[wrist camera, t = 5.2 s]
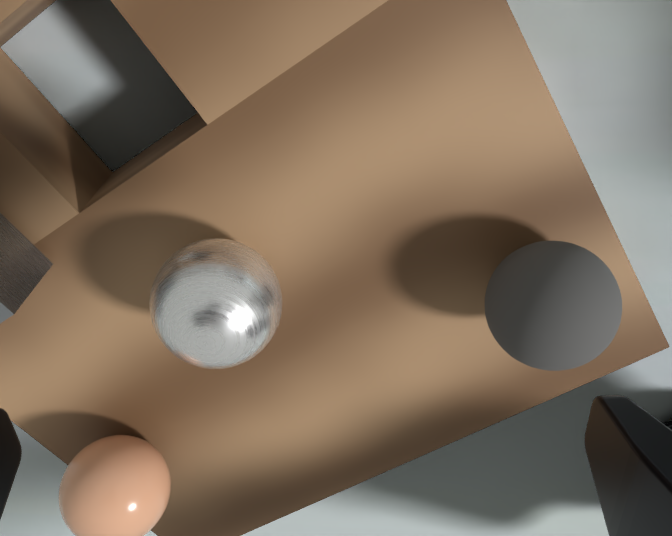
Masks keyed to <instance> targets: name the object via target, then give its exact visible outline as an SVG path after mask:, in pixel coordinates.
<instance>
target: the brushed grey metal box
mask: <svg viewBox="0 0 672 536" xmlns="http://www.w3.org/2000/svg"><path fill="white" fill-rule="evenodd" d="M52 265H53V263H52V262H51V261H50V260H49V259H48V258H47V257H46V256H45V255H44V254H43V253H42V252H41V251H40V250H39V249H38V248H36V247H35V246H34V245H33V244H32V243H31V242H30V241H29V240H28V239H27V238H26V237H25V236H24V235H23V234H22V233H21V232H20V231H19V230H18V229H17V228H16V227H15V226H14V225H13V224H12V223H11V222H10V221H8V220H7V219H6V218H5V217H4V216H3V215H2V214H1V213H0V323H2V322H3V321H5V320H6V319H8V318H9V317H11V316H12V315H14V314H15V313H16V311H17V310H18V309H19V307H20V306H21V305H22V304H23V302H24V301H25V300H26V298H27V297H28V296H29V295H30V293H31V292H32V291H33V289H34V288H35V287H36V286H37V284H38V283H39V282H40V280H41V279H42V278H43V277H44V275H45V274H46V273H47V271H48V270H49V269H50V268H51V266H52Z"/></svg>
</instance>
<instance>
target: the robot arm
mask: <svg viewBox="0 0 672 536" xmlns="http://www.w3.org/2000/svg"><path fill="white" fill-rule="evenodd" d="M585 449H586V453H587V457H588V460H589V464H590V468H591V471H592V475H593V479H594V482H595V486H596V489H597V493H598V497H599V500H600V504H601V508H602V511H603V515H604V519H605V522H606V526H607V530H608V533H609V536H672V421H670V422H668V423H665V424H663V423H661V422H660V421H659V420H657V419H656V418H655V417H653V416H652V415H650V414H649V413H648V412H646V411H645V410H644V409H642V408H641V407H640V406H638V405H637V404H635V403H634V402H633V401H631V400H630V399H629V398H627V397H625V396H622V395H603V396H597V397H596V398H595V399H594V400H593V403H592V406H591V411H590V415H589V420H588V424H587V428H586V433H585ZM20 460H21V445H20V442H19V439H18V437H17V435H16V432H15V430H14V427H13V425H12V423H11V420H10V418H9V415H8V413H7V412H6V411H5V410H4V409H2V408H0V519H1V516H2V513H3V511H4V508H5V505H6V502H7V499H8V496H9V493H10V490H11V487H12V484H13V481H14V478H15V475H16V472H17V469H18V467H19V464H20Z"/></svg>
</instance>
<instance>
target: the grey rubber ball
mask: <svg viewBox="0 0 672 536" xmlns="http://www.w3.org/2000/svg"><path fill="white" fill-rule="evenodd" d="M485 316H486V320H487V323H488V326H489V329H490V331H491V333H492V335H493V337H494V339H495V340H496V341H497V342H498V344H499V345H500V346H501V348H502V349H503V350H505V351H506V352H507V353H508V354H509V355H510V356H511V357H513V358H514V359H516V360H518V361H519V362H521V363H523V364H525V365H528V366H530V367H533V368H537V369H541V370H549V371H560V370H568V369H573V368H576V367H579V366H582V365H584V364H586V363H588V362H590V361H592V360H593V359H595V358H596V357H597V356H599V355H600V354H601V353H602V352H603V351H604V350H605V349H606V348H607V347H608V346H609V344H610V343H611V342H612V340H613V339H614V337H615V335H616V333H617V330H618V328H619V325H620V322H621V316H622V297H621V292H620V289H619V286H618V283H617V281H616V279H615V277H614V275H613V274H612V272H611V270H610V269H609V268H608V267H607V265H606V264H605V263H604V262H603V261H602V260H601V259H600V258H599V257H597V256H596V255H595V254H593V253H592V252H590V251H589V250H587V249H585V248H583V247H581V246H578V245H576V244H573V243H569V242H563V241H540V242H535V243H532V244H529V245H526V246H523V247H521V248H519V249H517V250H516V251H514V252H512V253H511V254H510V255H508V256H507V257H506V258H505V259H504V260H503V261H502V262H501V263H500V264H499V265H498V266H497V268H496V269H495V271H494V272H493V274H492V276H491V278H490V280H489V282H488V285H487V289H486V293H485Z"/></svg>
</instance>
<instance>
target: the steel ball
mask: <svg viewBox="0 0 672 536" xmlns="http://www.w3.org/2000/svg"><path fill="white" fill-rule="evenodd" d="M149 308H150V316H151V321H152V324H153V327H154V329H155V332H156V334H157V336H158V337H159V339H160V340H161V342H162V343H163V344H164V346H165V347H166V348H167V349H168V350H169V351H170V352H171V353H172V354H173V355H175V356H176V357H178V358H179V359H181V360H183V361H184V362H187V363H189V364H191V365H194V366H197V367H202V368H208V369H223V368H229V367H233V366H236V365H239V364H242V363H244V362H246V361H248V360H250V359H251V358H253V357H254V356H256V355H257V354H258V353H259V352H261V351H262V350H263V349H264V348H265V346H266V345H267V344H268V343H269V342H270V340H271V339H272V337H273V336H274V334H275V332H276V329H277V327H278V325H279V321H280V318H281V313H282V293H281V288H280V284H279V281H278V279H277V276H276V274H275V273H274V271H273V269H272V267H271V266H270V265H269V263H268V262H267V261H266V260H265V259H264V258H263V257H262V256H261V255H260V254H259V253H258V252H256V251H255V250H254V249H252V248H250V247H249V246H247V245H245V244H243V243H240V242H237V241H234V240H229V239H222V238H212V239H204V240H200V241H196V242H193V243H191V244H188V245H187V246H185V247H183V248H181V249H179V250H178V251H176V252H175V253H174V254H173V255H172V256H171V257H170V258H169V259H168V260H167V261H166V262H165V263H164V264H163V265H162V267H161V268H160V270H159V271H158V273H157V275H156V277H155V279H154V282H153V285H152V288H151V293H150V301H149Z"/></svg>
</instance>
